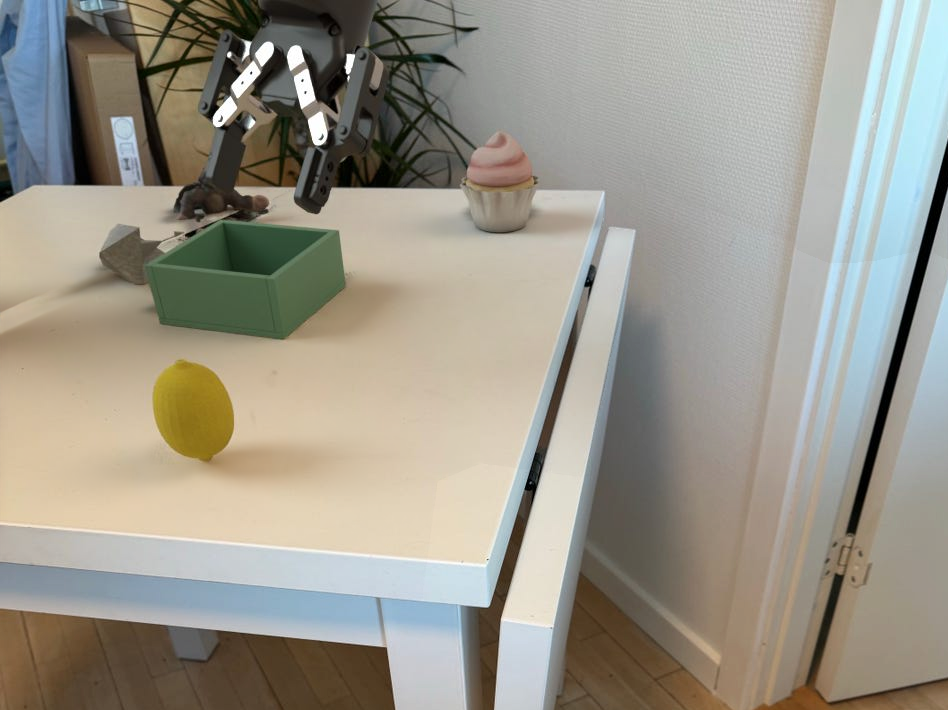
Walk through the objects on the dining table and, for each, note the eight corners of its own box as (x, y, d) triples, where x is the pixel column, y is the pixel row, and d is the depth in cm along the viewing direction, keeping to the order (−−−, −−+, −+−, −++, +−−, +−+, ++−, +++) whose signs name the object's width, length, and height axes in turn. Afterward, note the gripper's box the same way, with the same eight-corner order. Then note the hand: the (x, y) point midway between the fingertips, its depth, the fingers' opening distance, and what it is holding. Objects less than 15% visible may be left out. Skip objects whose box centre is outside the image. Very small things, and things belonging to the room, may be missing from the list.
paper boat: (110, 249, 101) (186, 217, 100) (135, 305, 102) (210, 274, 101) (66, 219, 89) (152, 183, 88) (95, 283, 90) (181, 248, 90)
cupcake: (450, 235, 105) (446, 139, 98) (474, 210, 111) (471, 118, 105) (528, 241, 103) (529, 143, 96) (548, 215, 109) (550, 122, 102)
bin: (159, 323, 88) (143, 265, 84) (231, 274, 97) (220, 219, 93) (284, 339, 84) (273, 279, 81) (346, 286, 94) (339, 230, 90)
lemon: (250, 442, 70) (228, 343, 65) (233, 480, 66) (208, 378, 61) (180, 442, 70) (153, 343, 65) (159, 480, 66) (128, 378, 61)
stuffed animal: (166, 235, 103) (157, 147, 106) (187, 288, 113) (178, 206, 115) (270, 225, 104) (258, 138, 107) (282, 278, 114) (271, 197, 117)
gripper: (217, -84, 61) (152, 159, 64) (382, -76, 55) (303, 191, 58) (287, -12, 68) (226, 205, 71) (441, 2, 62) (368, 238, 65)
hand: (260, 198), depth 64 cm, fingers open, 8 cm apart
